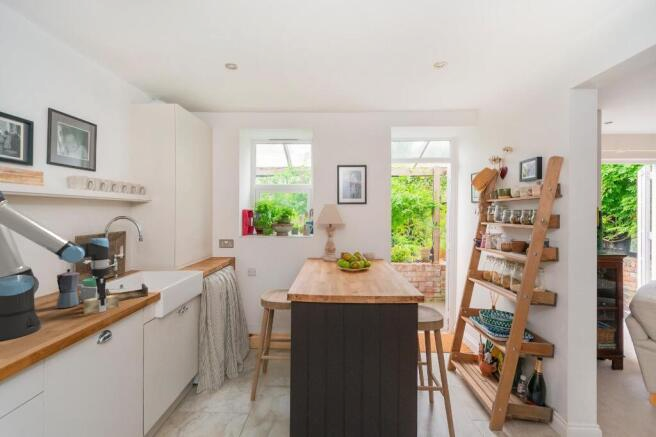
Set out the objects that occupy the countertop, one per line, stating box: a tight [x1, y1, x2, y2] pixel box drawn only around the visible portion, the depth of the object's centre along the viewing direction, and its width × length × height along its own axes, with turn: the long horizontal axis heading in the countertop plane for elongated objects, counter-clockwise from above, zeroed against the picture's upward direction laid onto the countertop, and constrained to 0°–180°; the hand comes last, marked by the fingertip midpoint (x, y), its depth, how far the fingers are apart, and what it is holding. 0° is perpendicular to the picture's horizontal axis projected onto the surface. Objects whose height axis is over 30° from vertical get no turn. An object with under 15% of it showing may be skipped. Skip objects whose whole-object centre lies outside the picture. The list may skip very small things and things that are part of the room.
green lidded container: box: [81, 277, 97, 287], centre depth 174 cm, size 15×10×10 cm
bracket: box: [77, 283, 99, 304], centre depth 161 cm, size 11×4×10 cm, turn 100°
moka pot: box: [56, 268, 80, 309], centre depth 152 cm, size 10×15×20 cm, turn 20°
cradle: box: [105, 282, 149, 302], centre depth 168 cm, size 19×14×5 cm
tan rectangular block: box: [83, 294, 120, 314], centre depth 147 cm, size 14×5×6 cm, turn 132°
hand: (101, 308), depth 147 cm, fingers open, 12 cm apart
